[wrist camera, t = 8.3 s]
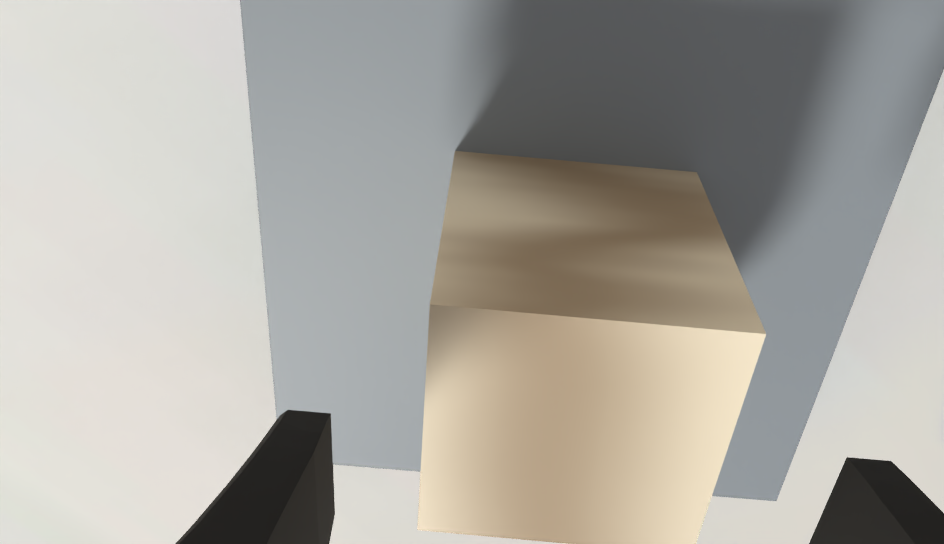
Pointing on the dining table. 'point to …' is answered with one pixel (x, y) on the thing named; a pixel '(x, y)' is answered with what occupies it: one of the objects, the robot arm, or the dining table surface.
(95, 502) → the dining table surface
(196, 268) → the dining table surface
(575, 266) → the ash block
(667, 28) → the slate plinth
